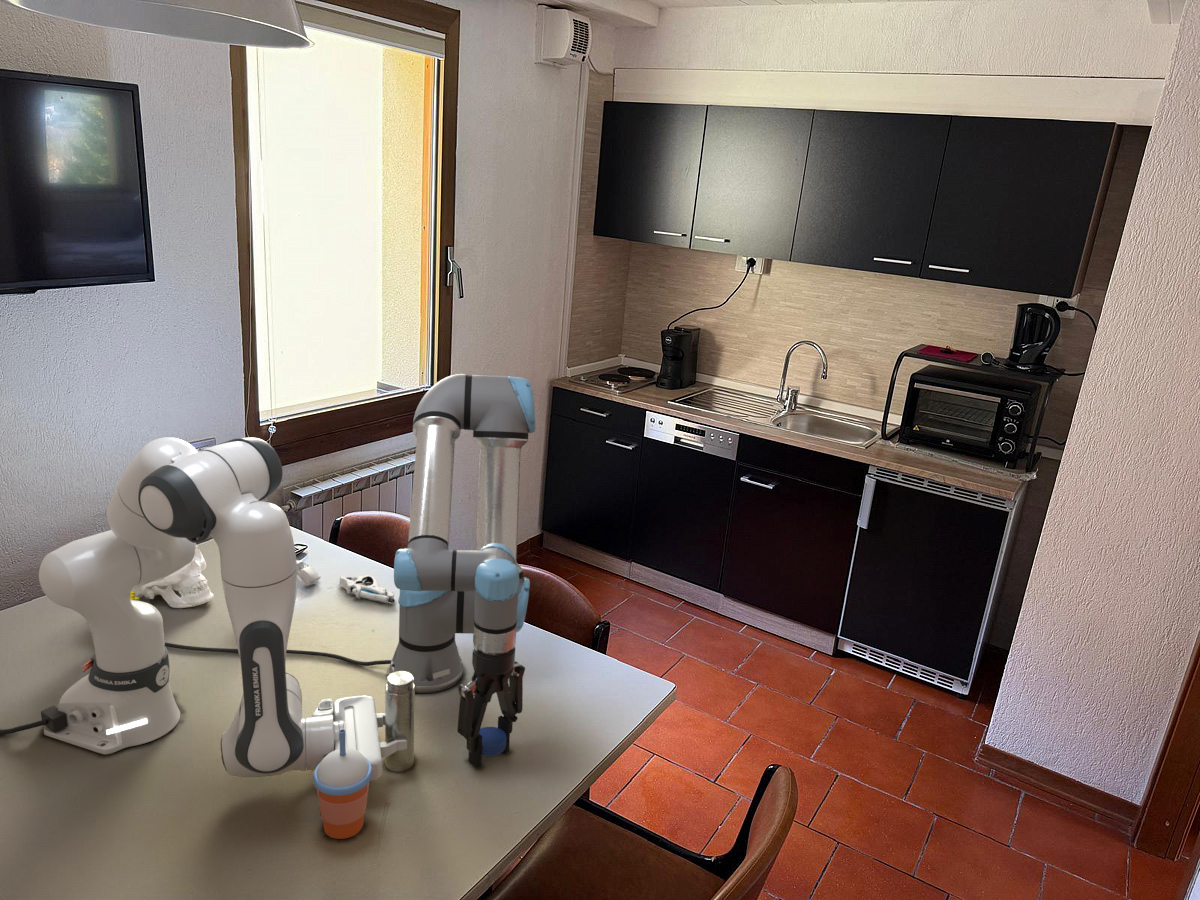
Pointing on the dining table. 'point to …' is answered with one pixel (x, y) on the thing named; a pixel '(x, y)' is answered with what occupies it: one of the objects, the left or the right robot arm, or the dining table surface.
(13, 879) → the dining table surface
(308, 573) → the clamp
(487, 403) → the right robot arm
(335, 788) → the cup with straw
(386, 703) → the silver metal cylinder
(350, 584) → the toy gun
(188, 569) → the skull
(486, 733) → the lid
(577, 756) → the dining table surface
